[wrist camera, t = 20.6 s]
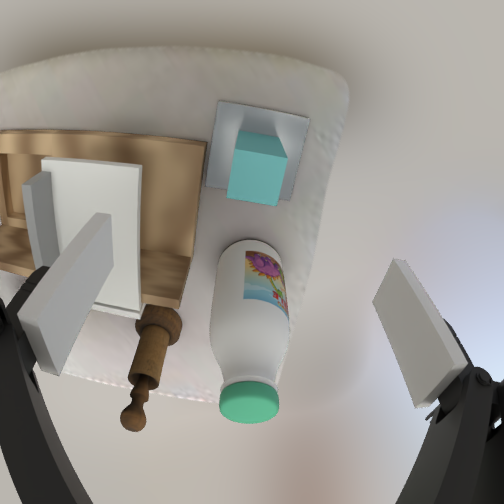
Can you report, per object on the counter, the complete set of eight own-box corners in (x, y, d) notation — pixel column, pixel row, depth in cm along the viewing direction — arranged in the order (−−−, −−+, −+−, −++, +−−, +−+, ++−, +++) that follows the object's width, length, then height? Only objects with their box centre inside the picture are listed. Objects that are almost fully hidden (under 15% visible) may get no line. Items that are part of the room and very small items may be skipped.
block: (232, 168, 31) (226, 197, 25) (238, 130, 29) (234, 148, 22) (271, 174, 32) (276, 206, 25) (279, 137, 30) (287, 158, 23)
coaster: (206, 183, 33) (205, 186, 32) (219, 100, 28) (218, 101, 28) (288, 197, 34) (289, 201, 33) (308, 117, 29) (310, 119, 29)
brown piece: (10, 225, 35) (-27, 261, 27) (0, 130, 28) (-49, 153, 20) (193, 256, 38) (178, 309, 30) (207, 142, 31) (190, 169, 23)
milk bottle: (235, 297, 42) (228, 438, 25) (207, 251, 38) (178, 398, 21) (290, 277, 40) (311, 421, 23) (266, 227, 36) (278, 375, 19)
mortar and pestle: (191, 320, 44) (170, 434, 29) (167, 341, 46) (144, 445, 31) (152, 295, 42) (115, 409, 26) (131, 319, 44) (95, 423, 29)
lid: (89, 259, 35) (50, 321, 26) (84, 136, 27) (20, 172, 18) (158, 272, 36) (132, 341, 27) (165, 143, 28) (124, 182, 19)
